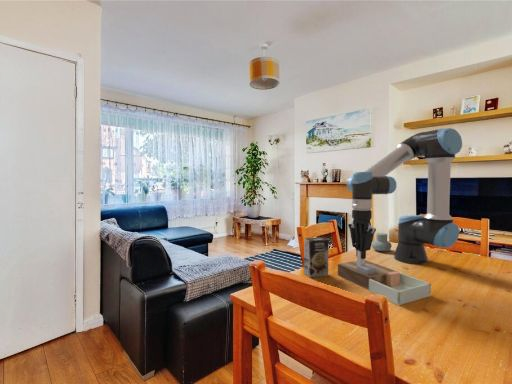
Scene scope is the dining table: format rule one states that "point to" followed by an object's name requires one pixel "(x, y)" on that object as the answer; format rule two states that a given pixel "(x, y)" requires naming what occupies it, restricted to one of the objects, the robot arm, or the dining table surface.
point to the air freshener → (381, 243)
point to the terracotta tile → (393, 279)
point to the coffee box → (316, 256)
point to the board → (359, 278)
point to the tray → (402, 290)
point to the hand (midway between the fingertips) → (360, 265)
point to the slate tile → (366, 269)
